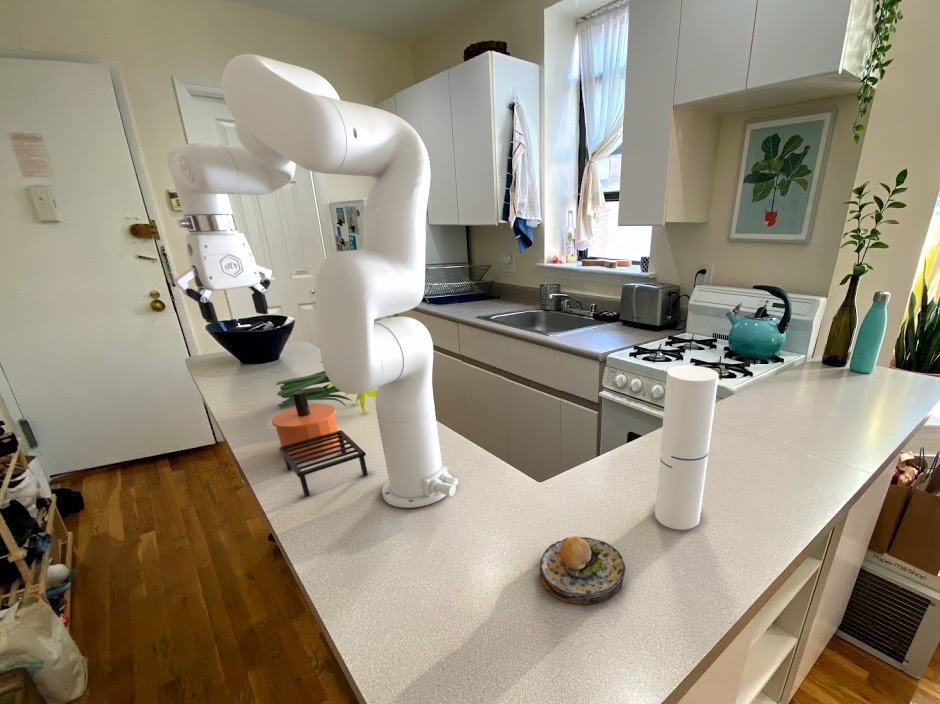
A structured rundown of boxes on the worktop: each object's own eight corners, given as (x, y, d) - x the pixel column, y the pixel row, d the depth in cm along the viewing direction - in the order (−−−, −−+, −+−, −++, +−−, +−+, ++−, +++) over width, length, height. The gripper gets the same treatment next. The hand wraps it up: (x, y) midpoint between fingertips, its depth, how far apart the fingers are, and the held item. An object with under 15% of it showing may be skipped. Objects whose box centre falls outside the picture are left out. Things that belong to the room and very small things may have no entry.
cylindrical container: (691, 535, 72) (711, 384, 62) (648, 520, 76) (660, 375, 66) (704, 511, 78) (724, 369, 68) (663, 499, 81) (676, 362, 71)
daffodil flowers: (318, 392, 137) (411, 371, 123) (296, 433, 129) (393, 416, 115) (271, 354, 125) (367, 326, 111) (243, 397, 117) (344, 373, 103)
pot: (351, 442, 104) (344, 411, 101) (307, 464, 95) (298, 431, 92) (317, 433, 109) (310, 403, 106) (272, 453, 100) (263, 422, 97)
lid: (348, 413, 102) (343, 387, 99) (298, 435, 92) (291, 407, 89) (311, 405, 107) (305, 379, 104) (260, 425, 97) (251, 397, 94)
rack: (370, 475, 91) (365, 452, 89) (304, 498, 84) (297, 474, 82) (346, 450, 100) (341, 429, 98) (285, 469, 93) (278, 447, 91)
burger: (639, 591, 62) (643, 546, 59) (556, 616, 58) (555, 569, 55) (601, 537, 72) (602, 497, 69) (529, 556, 68) (526, 514, 65)
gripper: (167, 227, 77) (200, 328, 84) (269, 224, 91) (290, 311, 98) (146, 227, 81) (180, 324, 87) (248, 224, 94) (269, 309, 101)
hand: (238, 317), depth 93 cm, fingers open, 9 cm apart
